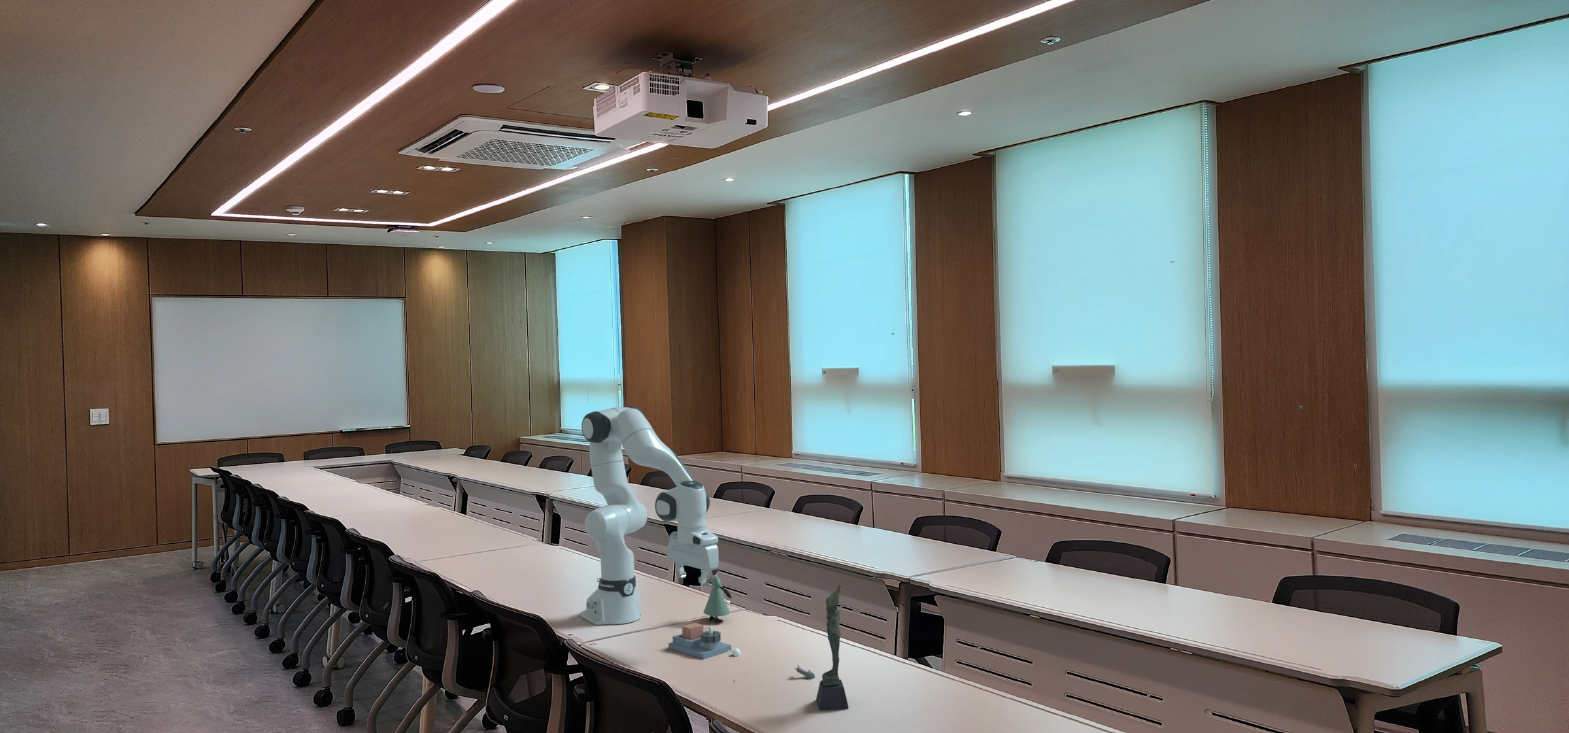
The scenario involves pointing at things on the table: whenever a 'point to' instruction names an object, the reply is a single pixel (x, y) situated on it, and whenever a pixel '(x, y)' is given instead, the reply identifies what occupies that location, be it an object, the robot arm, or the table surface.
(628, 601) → the robot arm
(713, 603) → the character figurine
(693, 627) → the brown small block
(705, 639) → the wheel
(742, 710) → the table surface
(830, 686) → the statue
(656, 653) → the table surface
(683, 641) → the chassis
